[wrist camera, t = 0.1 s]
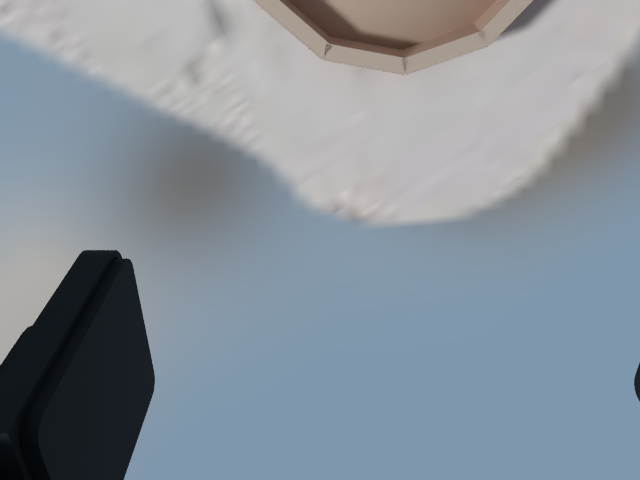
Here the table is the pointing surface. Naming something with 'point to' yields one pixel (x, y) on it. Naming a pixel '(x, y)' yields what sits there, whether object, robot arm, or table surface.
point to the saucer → (394, 29)
